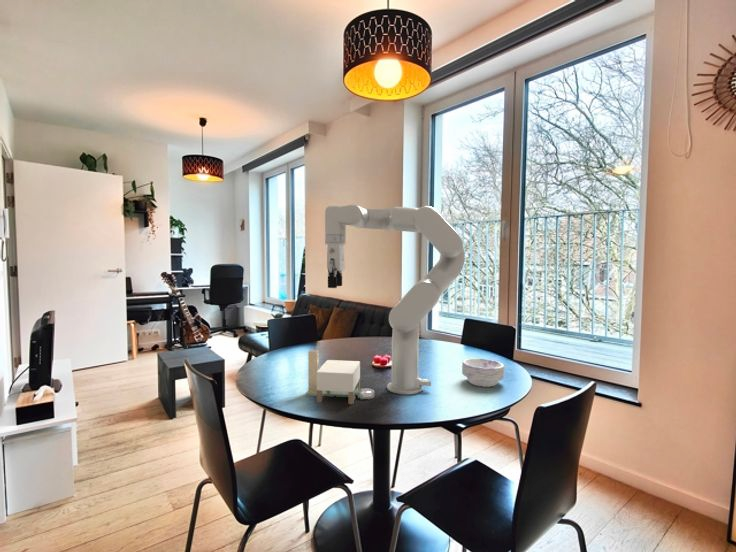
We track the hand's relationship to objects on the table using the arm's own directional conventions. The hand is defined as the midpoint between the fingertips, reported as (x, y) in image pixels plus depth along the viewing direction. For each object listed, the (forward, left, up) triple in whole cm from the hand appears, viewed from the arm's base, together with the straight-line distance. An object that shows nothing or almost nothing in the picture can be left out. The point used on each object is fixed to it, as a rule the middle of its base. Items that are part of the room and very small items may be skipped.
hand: (335, 286), depth 143 cm
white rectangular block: (-4, +12, -36) cm, 38 cm away
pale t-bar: (-1, +12, -36) cm, 38 cm away
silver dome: (-13, +11, -37) cm, 40 cm away
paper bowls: (-55, -9, -37) cm, 67 cm away
